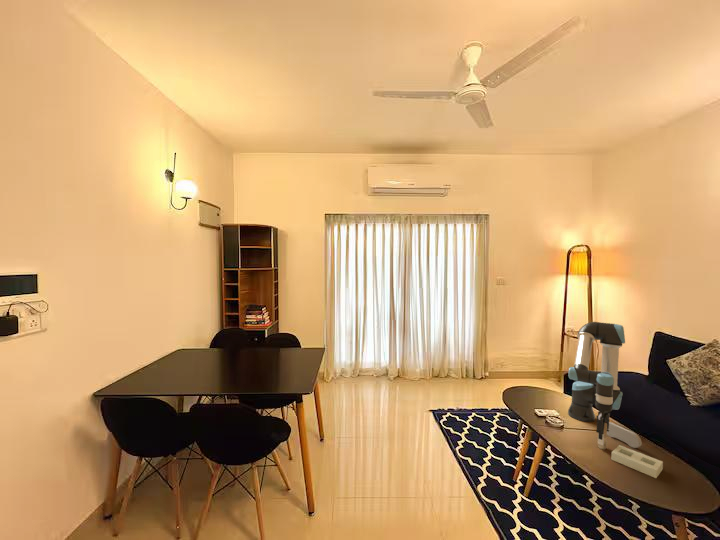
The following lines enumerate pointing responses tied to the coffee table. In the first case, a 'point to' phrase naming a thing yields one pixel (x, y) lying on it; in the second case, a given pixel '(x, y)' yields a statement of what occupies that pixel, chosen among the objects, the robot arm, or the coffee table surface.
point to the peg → (604, 438)
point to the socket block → (637, 461)
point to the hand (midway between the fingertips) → (602, 443)
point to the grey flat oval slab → (624, 435)
